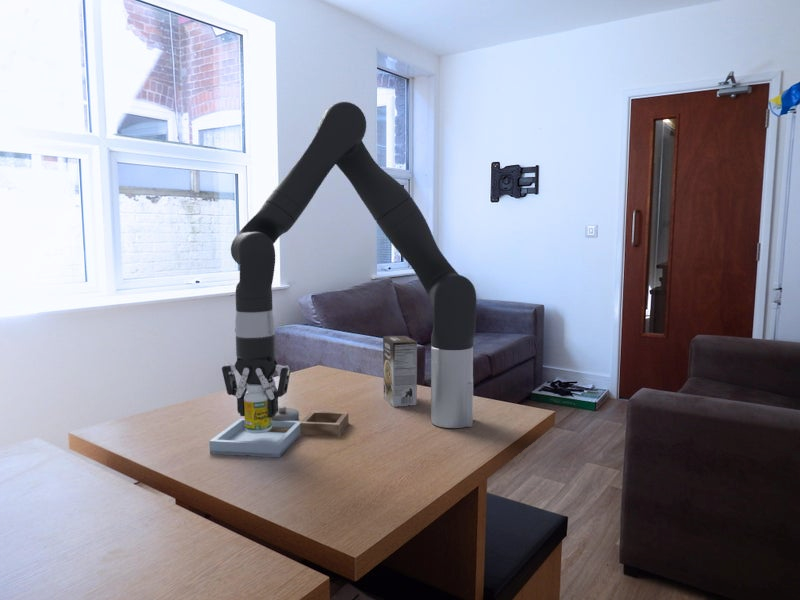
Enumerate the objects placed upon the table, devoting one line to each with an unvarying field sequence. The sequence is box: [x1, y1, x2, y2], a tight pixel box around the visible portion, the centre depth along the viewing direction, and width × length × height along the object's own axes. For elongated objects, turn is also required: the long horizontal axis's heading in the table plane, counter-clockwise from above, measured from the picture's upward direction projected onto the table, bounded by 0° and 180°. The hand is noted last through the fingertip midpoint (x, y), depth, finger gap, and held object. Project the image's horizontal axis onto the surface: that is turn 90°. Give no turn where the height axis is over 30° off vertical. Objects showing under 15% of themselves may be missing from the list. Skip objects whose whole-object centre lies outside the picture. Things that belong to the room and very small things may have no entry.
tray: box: [209, 418, 301, 458], centre depth 116 cm, size 14×14×2 cm
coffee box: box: [382, 335, 418, 408], centre depth 145 cm, size 9×6×16 cm
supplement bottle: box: [244, 383, 272, 434], centre depth 116 cm, size 5×5×10 cm
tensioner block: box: [268, 405, 350, 437], centre depth 125 cm, size 19×10×4 cm, turn 82°
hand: (257, 415), depth 116 cm, fingers closed on supplement bottle, 5 cm apart
